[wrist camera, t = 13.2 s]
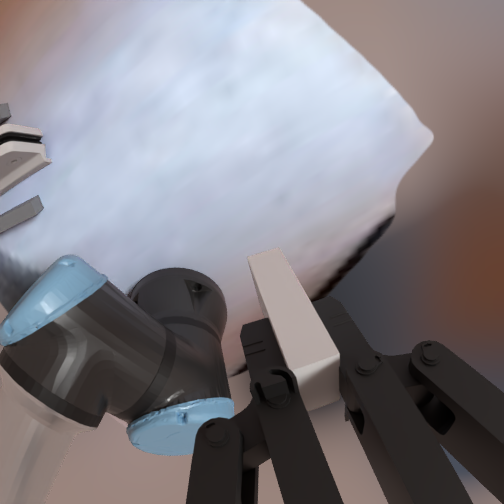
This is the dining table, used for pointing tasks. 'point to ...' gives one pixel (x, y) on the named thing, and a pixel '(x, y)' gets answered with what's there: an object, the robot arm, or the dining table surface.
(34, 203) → the bracket
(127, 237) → the dining table surface
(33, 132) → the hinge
